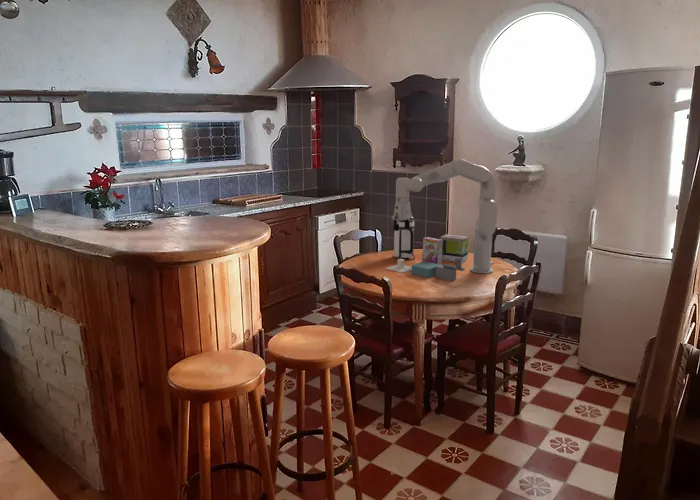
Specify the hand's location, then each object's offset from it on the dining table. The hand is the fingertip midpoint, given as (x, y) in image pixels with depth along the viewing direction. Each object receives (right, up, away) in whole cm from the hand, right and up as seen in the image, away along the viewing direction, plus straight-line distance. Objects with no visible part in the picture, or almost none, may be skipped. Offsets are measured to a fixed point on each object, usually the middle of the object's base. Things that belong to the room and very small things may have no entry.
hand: (401, 229), depth 313 cm
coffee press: (+5, -17, +28) cm, 33 cm away
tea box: (+34, -18, +26) cm, 47 cm away
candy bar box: (+19, -21, +12) cm, 31 cm away
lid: (0, -23, +6) cm, 24 cm away
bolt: (+26, -22, -18) cm, 39 cm away
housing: (+18, -26, -9) cm, 33 cm away
